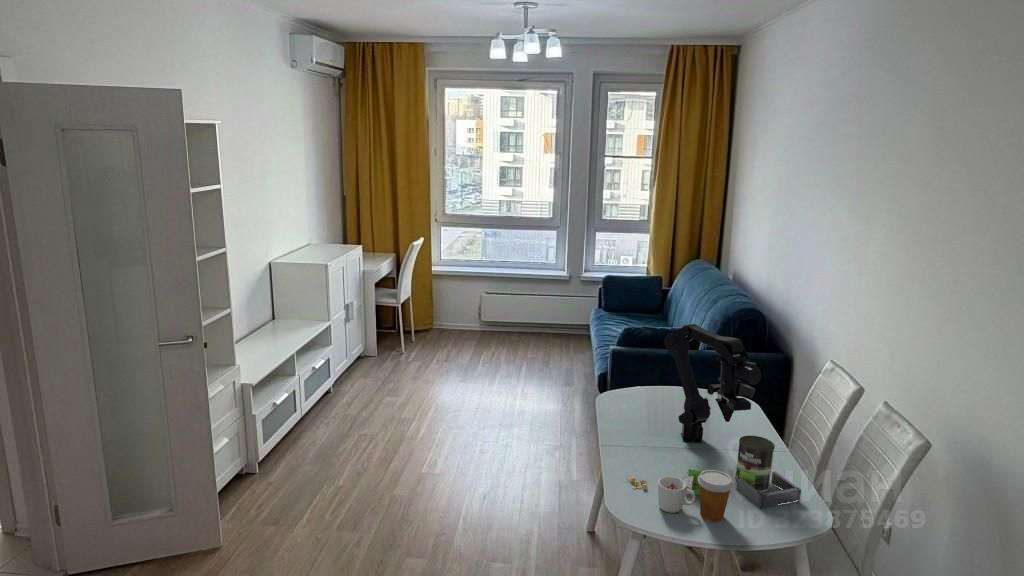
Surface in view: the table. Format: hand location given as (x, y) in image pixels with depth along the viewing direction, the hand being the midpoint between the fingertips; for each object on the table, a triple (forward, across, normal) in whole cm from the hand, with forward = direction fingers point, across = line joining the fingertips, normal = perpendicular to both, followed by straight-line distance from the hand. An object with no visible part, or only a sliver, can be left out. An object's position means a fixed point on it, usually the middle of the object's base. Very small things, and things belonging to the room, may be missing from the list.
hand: (727, 421), depth 222 cm
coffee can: (+14, -18, 0) cm, 23 cm away
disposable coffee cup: (+14, -32, +22) cm, 41 cm away
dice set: (+14, -14, +36) cm, 41 cm away
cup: (+14, -28, +30) cm, 43 cm away
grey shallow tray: (+14, -25, -1) cm, 28 cm away
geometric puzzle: (+14, -19, +21) cm, 31 cm away
